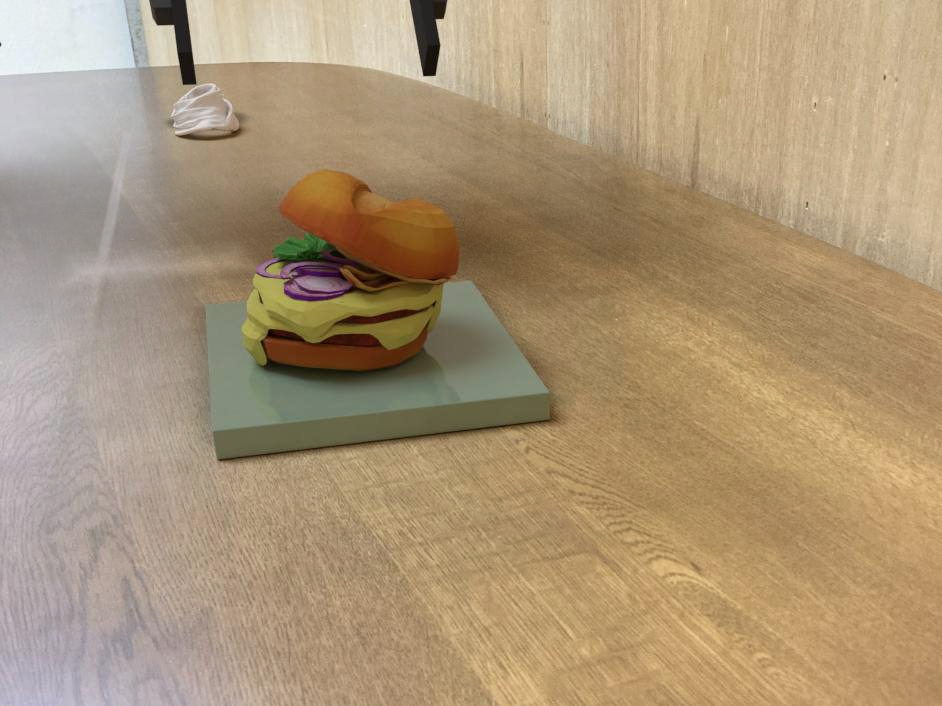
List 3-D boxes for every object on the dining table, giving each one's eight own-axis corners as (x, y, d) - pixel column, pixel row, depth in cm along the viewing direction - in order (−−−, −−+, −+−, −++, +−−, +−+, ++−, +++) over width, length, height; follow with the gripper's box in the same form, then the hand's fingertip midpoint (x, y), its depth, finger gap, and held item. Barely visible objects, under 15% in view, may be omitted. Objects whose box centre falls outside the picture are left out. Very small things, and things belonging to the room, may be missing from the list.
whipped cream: (240, 147, 115) (238, 97, 112) (170, 144, 113) (166, 93, 110) (239, 126, 121) (237, 77, 118) (173, 123, 119) (169, 74, 117)
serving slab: (208, 328, 68) (204, 304, 67) (472, 303, 71) (471, 279, 70) (216, 460, 53) (211, 430, 52) (550, 420, 56) (550, 392, 55)
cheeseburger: (216, 331, 62) (234, 143, 58) (398, 345, 68) (426, 173, 64) (264, 395, 54) (289, 182, 51) (466, 404, 60) (502, 212, 56)
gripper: (30, -307, 63) (63, 24, 58) (475, -290, 68) (538, 13, 63) (59, -189, 70) (91, 115, 65) (460, -182, 75) (516, 98, 70)
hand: (312, 65), depth 64 cm, fingers open, 13 cm apart
